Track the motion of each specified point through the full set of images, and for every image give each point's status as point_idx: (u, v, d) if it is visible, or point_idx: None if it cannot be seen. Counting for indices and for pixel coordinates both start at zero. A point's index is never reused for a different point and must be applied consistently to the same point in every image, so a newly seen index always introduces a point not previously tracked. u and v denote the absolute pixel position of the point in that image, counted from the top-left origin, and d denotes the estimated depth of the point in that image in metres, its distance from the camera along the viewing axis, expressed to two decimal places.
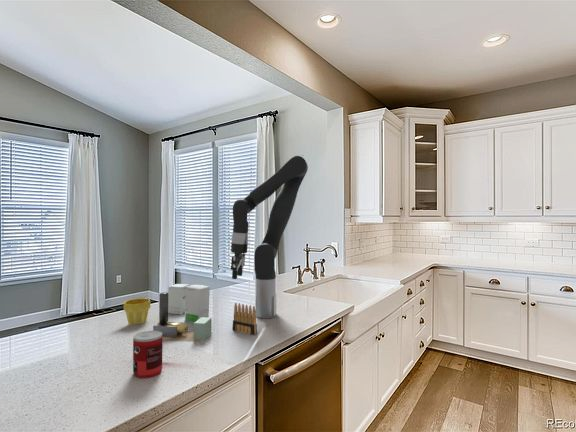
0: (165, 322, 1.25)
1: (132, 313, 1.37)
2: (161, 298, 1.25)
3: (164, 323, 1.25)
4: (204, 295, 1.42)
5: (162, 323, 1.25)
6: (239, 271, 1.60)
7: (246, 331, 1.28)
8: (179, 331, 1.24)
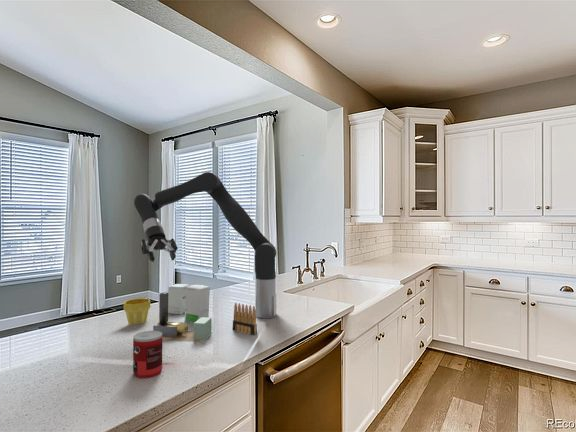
0: (165, 322, 1.25)
1: (132, 313, 1.37)
2: (161, 298, 1.25)
3: (164, 323, 1.25)
4: (204, 295, 1.42)
5: (162, 323, 1.25)
6: (171, 255, 1.43)
7: (246, 331, 1.28)
8: (179, 331, 1.24)
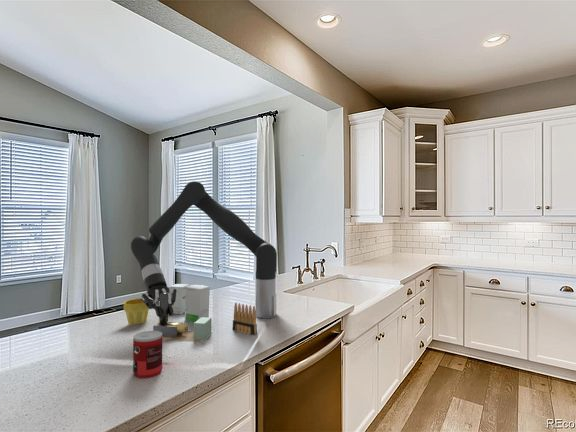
0: (165, 322, 1.25)
1: (132, 313, 1.37)
2: (161, 298, 1.25)
3: (164, 323, 1.25)
4: (204, 295, 1.42)
5: (162, 323, 1.25)
6: (168, 310, 1.27)
7: (246, 331, 1.28)
8: (179, 331, 1.24)
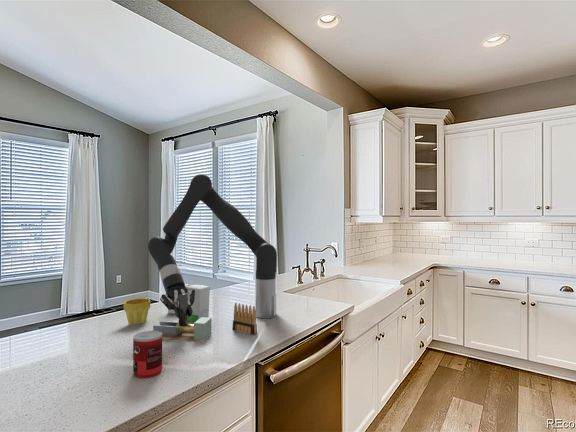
0: (184, 323, 1.24)
1: (132, 313, 1.37)
2: (181, 299, 1.24)
3: (184, 324, 1.24)
4: (204, 295, 1.42)
5: (182, 324, 1.24)
6: None
7: (246, 331, 1.28)
8: None
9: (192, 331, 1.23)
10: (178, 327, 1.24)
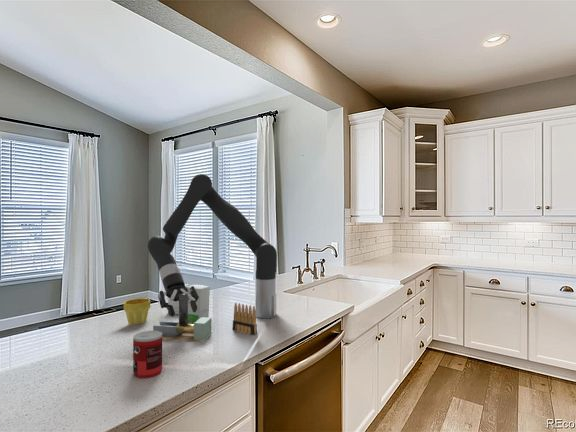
0: (185, 323, 1.24)
1: (132, 313, 1.37)
2: (181, 299, 1.24)
3: (184, 324, 1.24)
4: (204, 295, 1.42)
5: (182, 324, 1.24)
6: (192, 307, 1.29)
7: (246, 331, 1.28)
8: None
9: (192, 331, 1.23)
10: (178, 327, 1.24)
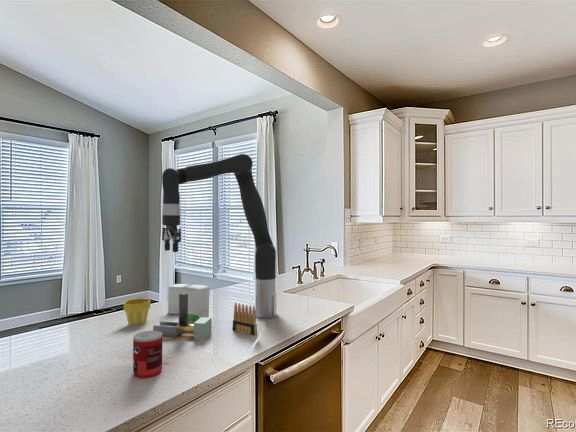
0: (185, 323, 1.24)
1: (132, 313, 1.37)
2: (181, 299, 1.24)
3: (184, 324, 1.24)
4: (204, 295, 1.42)
5: (182, 324, 1.24)
6: (167, 246, 1.51)
7: (246, 331, 1.28)
8: None
9: (192, 331, 1.23)
10: (178, 327, 1.24)
